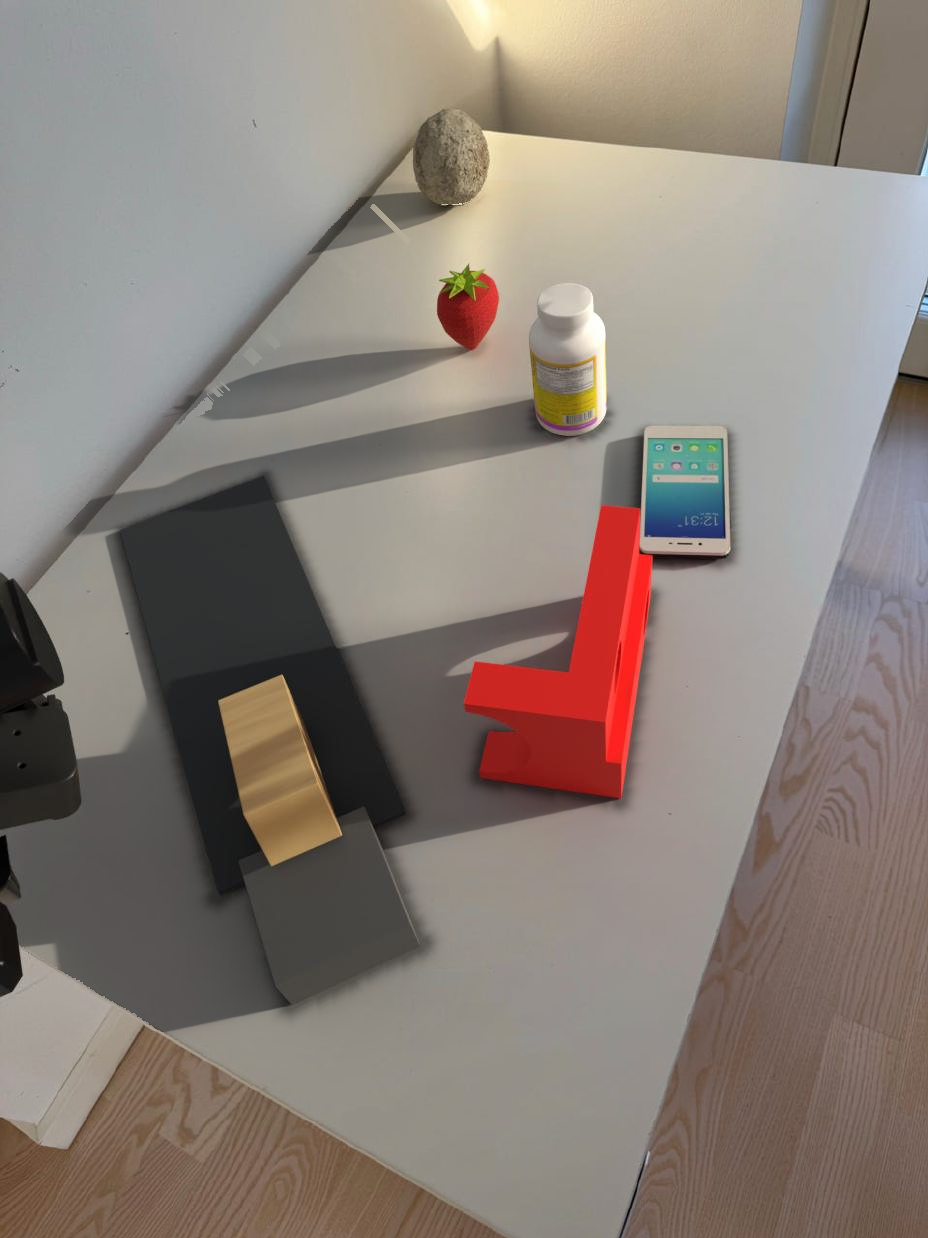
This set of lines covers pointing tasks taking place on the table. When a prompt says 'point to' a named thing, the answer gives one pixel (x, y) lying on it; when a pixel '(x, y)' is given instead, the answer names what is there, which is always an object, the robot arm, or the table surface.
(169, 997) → the table surface
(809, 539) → the table surface
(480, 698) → the bracket
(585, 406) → the supplement bottle
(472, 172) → the decorative stone
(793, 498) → the table surface
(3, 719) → the robot arm
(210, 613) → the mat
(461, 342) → the strawberry
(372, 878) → the stand
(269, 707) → the maple block
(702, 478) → the smartphone
